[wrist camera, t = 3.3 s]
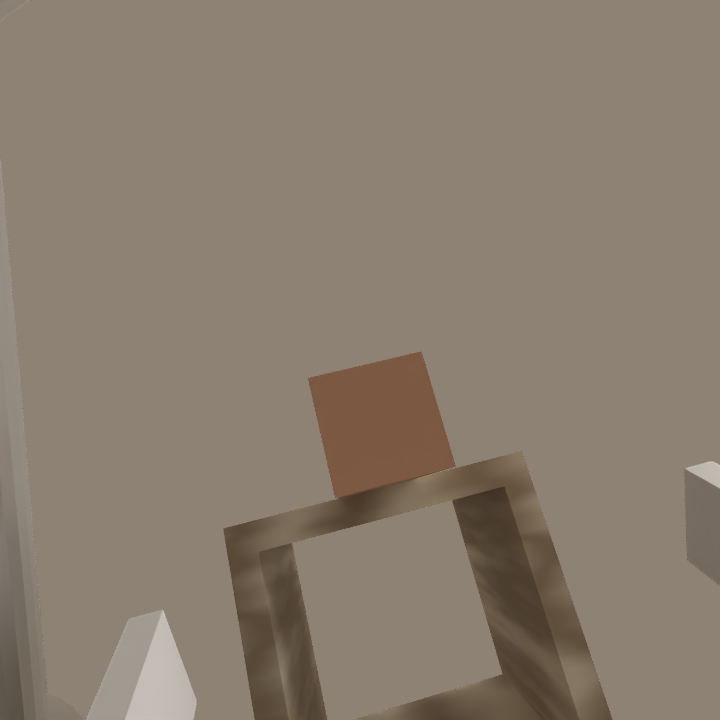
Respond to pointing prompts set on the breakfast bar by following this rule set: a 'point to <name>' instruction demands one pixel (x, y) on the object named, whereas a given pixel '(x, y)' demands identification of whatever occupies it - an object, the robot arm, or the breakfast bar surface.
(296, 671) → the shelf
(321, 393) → the bar
